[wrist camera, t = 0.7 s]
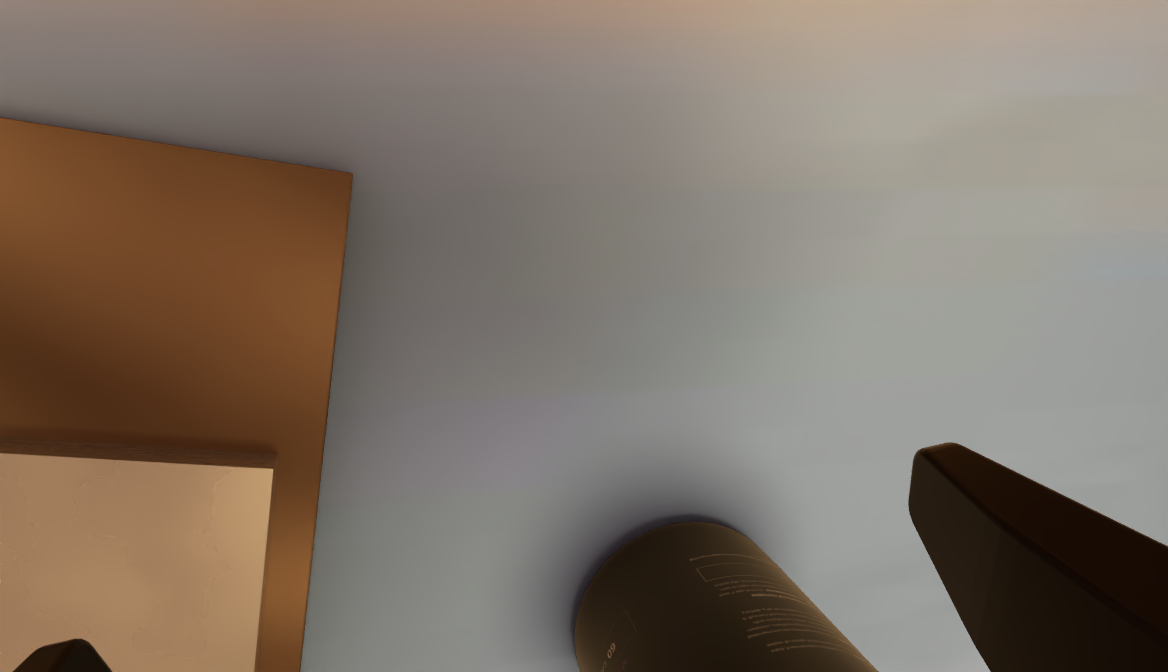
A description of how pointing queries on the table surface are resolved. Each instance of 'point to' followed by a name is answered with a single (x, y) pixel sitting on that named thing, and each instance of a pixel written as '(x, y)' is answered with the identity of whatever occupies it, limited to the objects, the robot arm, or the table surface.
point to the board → (176, 315)
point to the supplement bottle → (703, 610)
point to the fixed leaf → (135, 553)
